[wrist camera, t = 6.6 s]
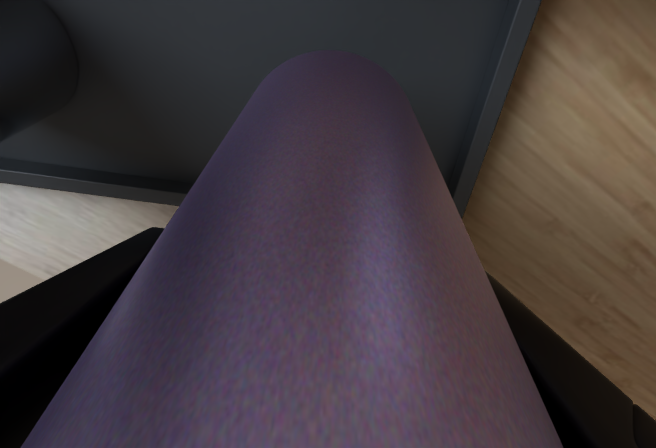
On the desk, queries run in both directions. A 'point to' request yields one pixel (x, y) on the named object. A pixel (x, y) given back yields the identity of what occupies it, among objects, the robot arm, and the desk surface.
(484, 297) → the beverage can
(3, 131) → the can
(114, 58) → the tray
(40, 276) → the desk surface
